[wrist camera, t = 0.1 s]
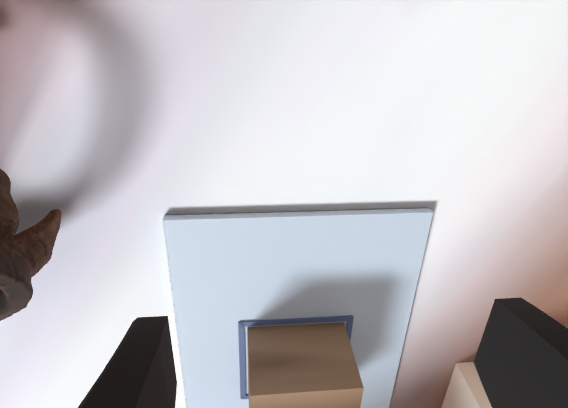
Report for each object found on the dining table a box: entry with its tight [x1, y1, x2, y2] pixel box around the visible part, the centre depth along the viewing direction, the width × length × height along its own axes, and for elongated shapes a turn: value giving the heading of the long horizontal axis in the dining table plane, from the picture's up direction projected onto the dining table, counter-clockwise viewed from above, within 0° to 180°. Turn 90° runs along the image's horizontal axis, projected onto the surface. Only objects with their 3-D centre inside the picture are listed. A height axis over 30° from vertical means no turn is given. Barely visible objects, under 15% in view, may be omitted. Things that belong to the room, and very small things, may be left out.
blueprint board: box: [163, 208, 433, 408], centre depth 24 cm, size 18×12×1 cm, turn 178°
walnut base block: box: [247, 322, 364, 408], centre depth 22 cm, size 5×5×4 cm
